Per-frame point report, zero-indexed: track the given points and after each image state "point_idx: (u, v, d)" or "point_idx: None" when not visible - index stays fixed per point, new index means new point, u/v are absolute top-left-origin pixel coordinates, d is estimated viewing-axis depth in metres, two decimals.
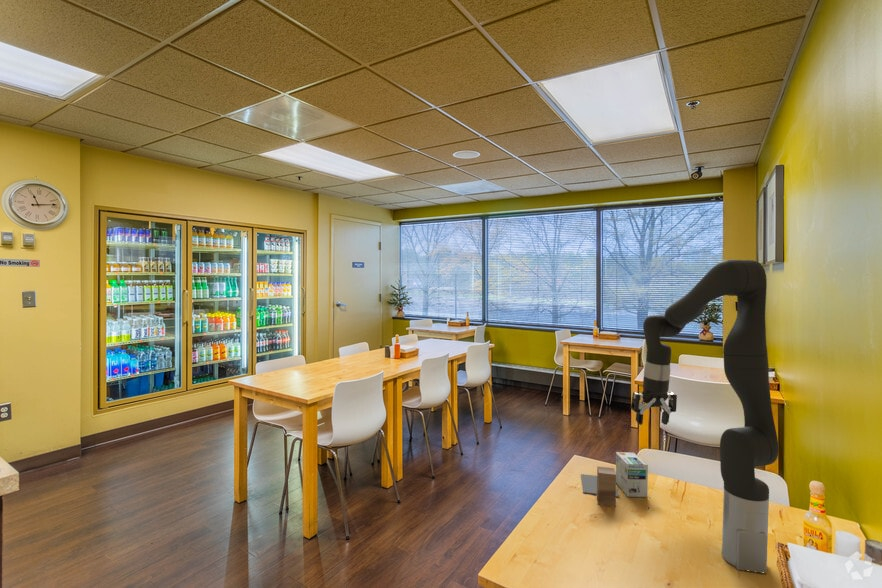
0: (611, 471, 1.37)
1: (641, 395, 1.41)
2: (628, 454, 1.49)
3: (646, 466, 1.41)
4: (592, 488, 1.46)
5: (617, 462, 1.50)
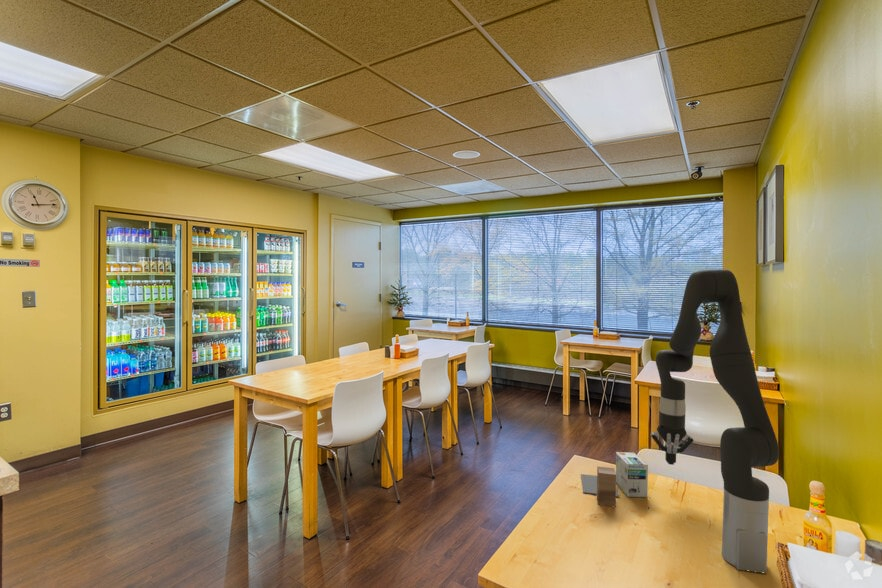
0: (611, 471, 1.37)
1: (656, 433, 1.43)
2: (628, 454, 1.49)
3: (646, 466, 1.41)
4: (592, 488, 1.46)
5: (617, 462, 1.50)
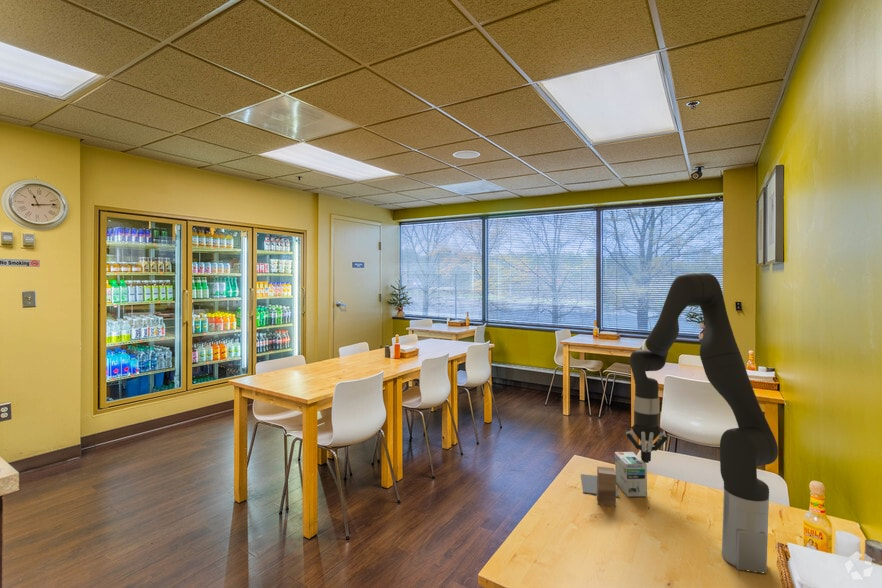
0: (611, 471, 1.37)
1: (631, 432, 1.46)
2: (627, 453, 1.49)
3: (645, 465, 1.41)
4: (592, 488, 1.46)
5: (616, 462, 1.50)
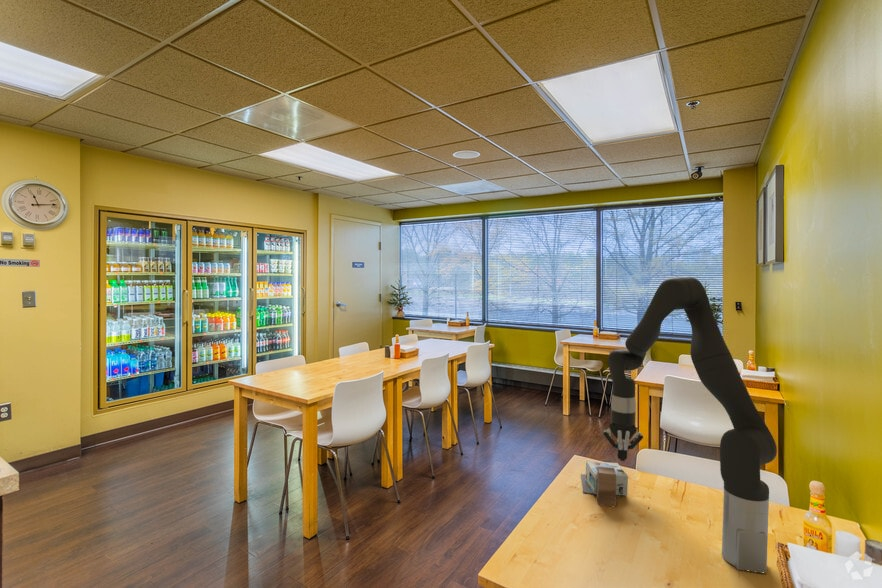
0: (611, 471, 1.37)
1: (608, 430, 1.47)
2: (587, 472, 1.50)
3: (596, 476, 1.41)
4: None
5: None
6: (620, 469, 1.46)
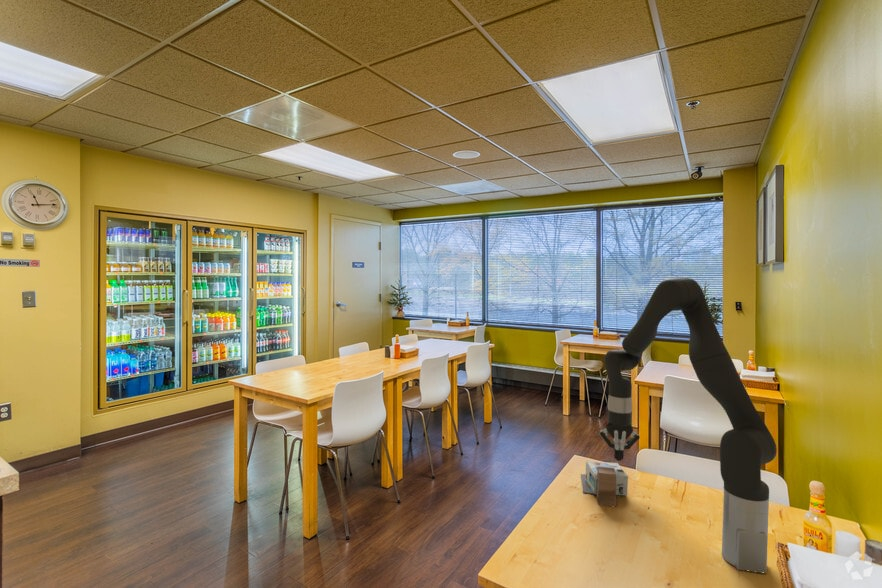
0: (611, 471, 1.37)
1: (605, 430, 1.47)
2: (587, 472, 1.50)
3: (596, 476, 1.41)
4: None
5: None
6: (620, 469, 1.46)
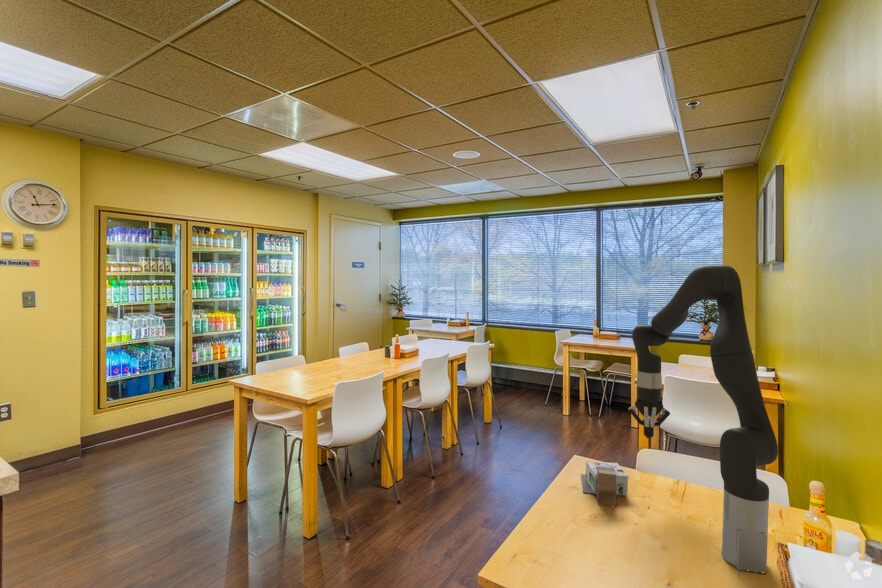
0: (611, 471, 1.37)
1: (634, 407, 1.45)
2: (587, 472, 1.50)
3: (596, 476, 1.41)
4: None
5: None
6: (620, 469, 1.46)
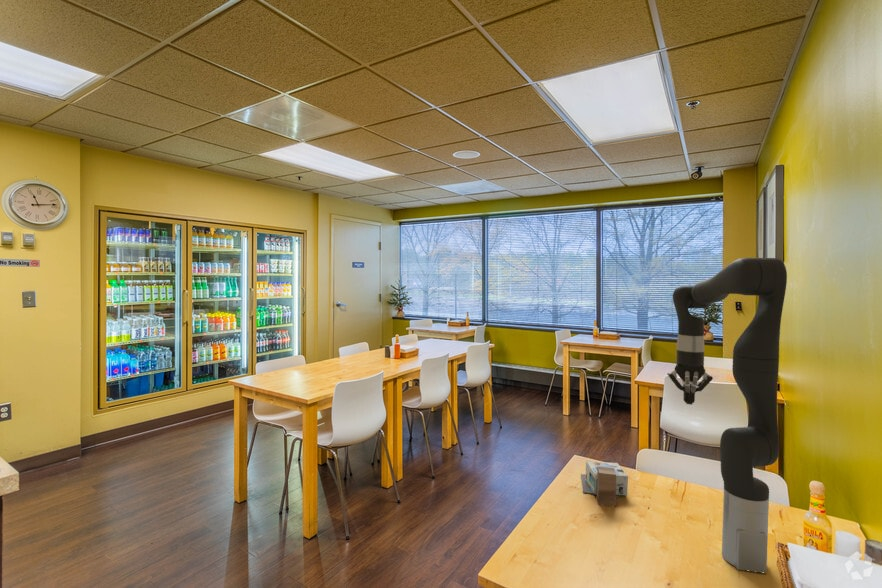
0: (611, 471, 1.37)
1: (674, 372, 1.39)
2: (587, 472, 1.50)
3: (596, 476, 1.41)
4: None
5: None
6: (620, 469, 1.46)
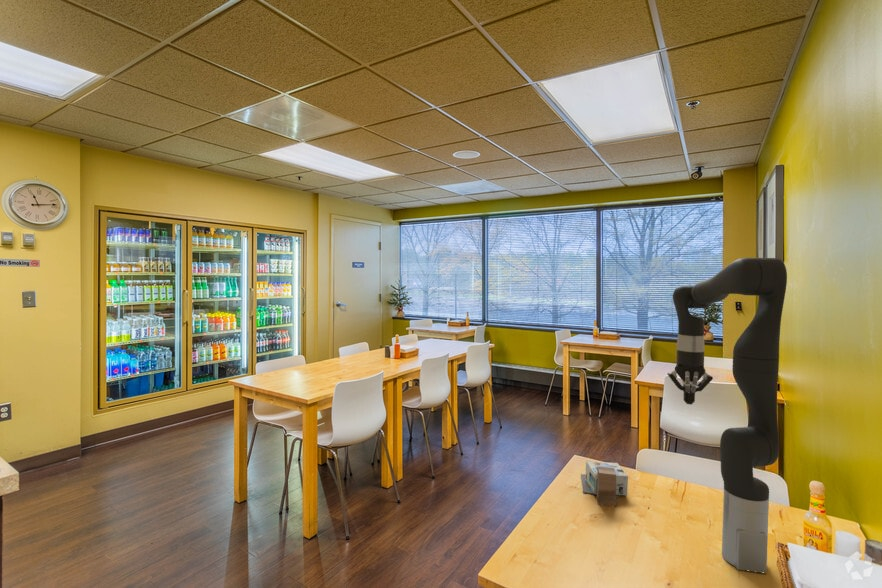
0: (611, 471, 1.37)
1: (674, 372, 1.39)
2: (587, 472, 1.50)
3: (596, 476, 1.41)
4: None
5: None
6: (620, 469, 1.46)
